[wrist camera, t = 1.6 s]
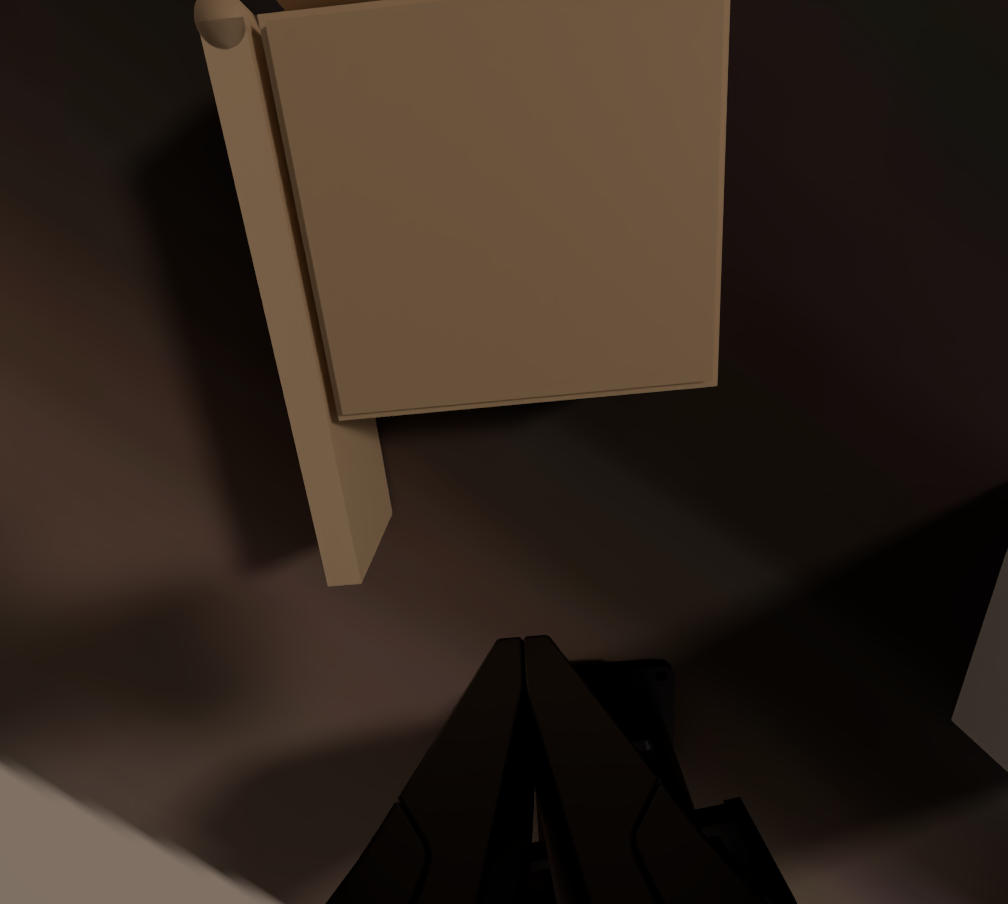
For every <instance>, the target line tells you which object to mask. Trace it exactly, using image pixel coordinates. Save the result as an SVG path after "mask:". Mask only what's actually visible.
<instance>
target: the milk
mask: <svg viewBox="0 0 1008 904" xmlns="http://www.w3.org/2000/svg"><path fill="white" fill-rule="evenodd" d="M951 720H952V721H953V722H954V723H955V724H956V725H957V726H958V727H959V728H960V729H961V730H962V731H964V732H965V733H966V734H967V735H968V736H969V737H970V738H971V739H972V740H973V741H974V742H976V743H977V744H978V745H979V746H980V747H981V748H982V749H983V750H984V751H985V752H986V753H988V754H989V755H990V756H991V757H992V758H993V759H994V760H995V761H996V762H997V763H998V764H999V765H1001V766H1002V767H1003V768H1004V769H1005V770H1006V771H1007V772H1008V549H1007V552H1006V555H1005V558H1004V561H1003V564H1002V567H1001V570H1000V573H999V576H998V579H997V582H996V585H995V588H994V591H993V594H992V597H991V600H990V603H989V606H988V609H987V613H986V616H985V619H984V622H983V625H982V628H981V631H980V634H979V637H978V640H977V643H976V646H975V649H974V652H973V655H972V658H971V661H970V664H969V667H968V670H967V673H966V676H965V680H964V683H963V686H962V689H961V692H960V695H959V698H958V701H957V704H956V707H955V710H954V713H953V716H952V719H951Z"/></svg>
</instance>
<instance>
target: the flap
mask: <svg viewBox="0 0 1008 904" xmlns="http://www.w3.org/2000/svg"><path fill="white" fill-rule="evenodd" d="M194 19H195V24H196V27H197V29H198V31H199V33H200V35H201V40H202V44H203V48H204V53H205V57H206V61H207V66H208V70H209V74H210V79H211V83H212V87H213V92H214V96H215V100H216V105H217V109H218V113H219V118H220V122H221V126H222V130H223V135H224V139H225V143H226V148H227V152H228V156H229V161H230V165H231V169H232V174H233V178H234V182H235V187H236V191H237V195H238V200H239V204H240V208H241V213H242V217H243V221H244V225H245V230H246V234H247V238H248V243H249V247H250V251H251V256H252V260H253V264H254V269H255V273H256V277H257V282H258V286H259V290H260V295H261V299H262V303H263V308H264V312H265V316H266V321H267V325H268V329H269V333H270V338H271V342H272V346H273V351H274V355H275V359H276V364H277V368H278V372H279V377H280V381H281V385H282V390H283V394H284V398H285V403H286V407H287V411H288V416H289V420H290V424H291V429H292V433H293V437H294V441H295V446H296V450H297V454H298V459H299V463H300V467H301V472H302V476H303V480H304V485H305V489H306V493H307V498H308V502H309V506H310V511H311V515H312V519H313V524H314V528H315V532H316V537H317V541H318V545H319V549H320V554H321V558H322V562H323V567H324V571H325V575H326V580H327V584H328V586H340V585H352V584H361V583H362V581H363V579H364V577H365V574H366V572H367V570H368V568H369V565H370V563H371V561H372V558H373V556H374V554H375V552H376V549H377V547H378V545H379V543H380V540H381V538H382V536H383V534H384V531H385V529H386V527H387V524H388V522H389V520H390V518H391V515H392V509H391V503H390V497H389V492H388V486H387V480H386V475H385V469H384V464H383V458H382V452H381V447H380V441H379V435H378V430H377V424H376V419H375V418H365V419H354V420H343V421H339V419H338V414H337V409H336V404H335V399H334V394H333V389H332V384H331V379H330V374H329V370H328V365H327V360H326V355H325V350H324V345H323V340H322V335H321V330H320V325H319V320H318V315H317V310H316V305H315V300H314V295H313V290H312V285H311V280H310V275H309V270H308V265H307V260H306V255H305V250H304V245H303V240H302V235H301V230H300V225H299V220H298V215H297V210H296V205H295V200H294V195H293V190H292V185H291V180H290V175H289V170H288V166H287V161H286V156H285V151H284V146H283V141H282V136H281V131H280V126H279V121H278V116H277V111H276V106H275V101H274V96H273V91H272V86H271V81H270V76H269V71H268V66H267V61H266V56H265V51H264V46H263V41H262V36H261V31H260V26H259V21H258V18H257V17H256V16H255V15H254V14H253V13H252V12H251V11H250V10H249V9H247V8H246V7H245V6H244V5H243V4H242V3H241V2H240V1H239V0H197V1H196V3H195V8H194Z"/></svg>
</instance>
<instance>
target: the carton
mask: <svg viewBox="0 0 1008 904" xmlns="http://www.w3.org/2000/svg"><path fill="white" fill-rule="evenodd" d="M277 1H278V2H279V4H280V5H281V6H282V7H283V8H284V9H285V10H286V11H285V12H276V13H267V14H259V15H257V16H258V21H259V26H260V31H261V36H262V41H263V46H264V51H265V56H266V61H267V66H268V71H269V76H270V81H271V86H272V91H273V96H274V101H275V106H276V111H277V116H278V121H279V126H280V131H281V136H282V141H283V146H284V151H285V156H286V161H287V166H288V170H289V175H290V180H291V185H292V190H293V195H294V200H295V205H296V210H297V215H298V220H299V225H300V230H301V235H302V240H303V245H304V250H305V255H306V260H307V265H308V270H309V275H310V280H311V285H312V290H313V295H314V300H315V305H316V310H317V315H318V320H319V325H320V330H321V335H322V340H323V345H324V350H325V355H326V360H327V365H328V370H329V374H330V379H331V384H332V389H333V394H334V399H335V404H336V409H337V414H338V419H339V421H343V420H354V419H365V418H375V417H386V416H397V415H408V414H419V413H430V412H440V411H451V410H462V409H473V408H484V407H495V406H505V405H516V404H527V403H538V402H549V401H559V400H570V399H581V398H592V397H603V396H614V395H624V394H635V393H646V392H657V391H668V390H679V389H689V388H700V387H711V386H717V378H718V348H719V319H720V289H721V259H722V229H723V200H724V170H725V140H726V110H727V81H728V51H729V21H730V0H277Z"/></svg>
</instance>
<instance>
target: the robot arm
mask: <svg viewBox="0 0 1008 904" xmlns="http://www.w3.org/2000/svg"><path fill="white" fill-rule="evenodd" d="M660 671H664V672H663V673H662V674H657V673H658V672H660ZM673 700H674V674H673V671H672V668H671V666H670V664H669V663H668V662H667V661H665V660H649V661H636V662H623V663H610V664H597V665H584V666H572V665H571V664H570V662H569V661H568V660H567V658H566V657H565V656H564V655H563V653H562V652H561V651H560V649H559V648H558V647H557V646H556V644H555V643H554V642H553V640H552V639H551V638H550V637H549V636H547V635H539V636H527V637H525V638H524V640H522V639H521V638H520V637H514V638H501V639H498V640H497V641H496V642H495V644H494V645H493V647H492V648H491V650H490V652H489V653H488V655H487V656H486V658H485V660H484V661H483V663H482V664H481V666H480V668H479V669H478V671H477V672H476V674H475V676H474V677H473V679H472V680H471V682H470V684H469V685H468V687H467V688H466V690H465V692H464V693H463V695H462V696H461V698H460V700H459V701H458V703H457V705H456V706H455V708H454V709H453V711H452V713H451V714H450V716H449V717H448V719H447V721H446V722H445V724H444V725H443V727H442V729H441V730H440V732H439V733H438V735H437V737H436V738H435V740H434V741H433V743H432V745H431V746H430V748H429V749H428V751H427V753H426V754H425V756H424V757H423V759H422V761H421V762H420V764H419V765H418V767H417V769H416V770H415V772H414V773H413V775H412V777H411V778H410V780H409V781H408V783H407V785H406V786H405V788H404V789H403V791H402V793H401V794H400V796H399V797H398V802H396V803H394V805H393V806H392V808H391V810H390V811H389V813H388V814H387V816H386V818H385V819H384V821H383V823H382V824H381V826H380V827H379V829H378V830H377V832H376V833H375V835H374V836H373V838H372V839H371V841H370V842H369V844H368V845H367V847H366V848H365V850H364V851H363V853H362V854H361V856H360V857H359V859H358V860H357V862H356V863H355V865H354V866H353V867H352V869H351V870H350V871H349V873H348V874H347V875H346V877H345V878H344V880H343V881H342V882H341V884H340V885H339V886H338V888H337V889H336V890H335V892H334V893H333V894H332V896H331V897H330V898H329V900H328V901H327V902H326V904H797V902H796V900H795V898H794V896H793V894H792V893H791V891H790V889H789V887H788V885H787V883H786V882H785V880H784V878H783V876H782V874H781V872H780V870H779V869H778V867H777V865H776V863H775V861H774V859H773V857H772V856H771V854H770V852H769V850H768V848H767V846H766V845H765V843H764V841H763V839H762V837H761V835H760V833H759V832H758V830H757V828H756V826H755V824H754V822H753V820H752V819H751V817H750V815H749V813H748V811H747V809H746V808H745V806H744V804H743V802H742V800H741V798H740V797H738V798H733V799H728V800H724V804H720V805H715V806H710V807H706V808H701V809H696V810H695V808H694V806H693V803H692V800H691V797H690V794H689V791H688V788H687V786H686V783H685V780H684V777H683V774H682V771H681V768H680V766H679V763H678V760H677V757H676V754H675V751H674V748H673ZM534 791H536V803H537V820H538V836H539V841H538V842H533V843H532V831H533V810H534Z"/></svg>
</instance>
